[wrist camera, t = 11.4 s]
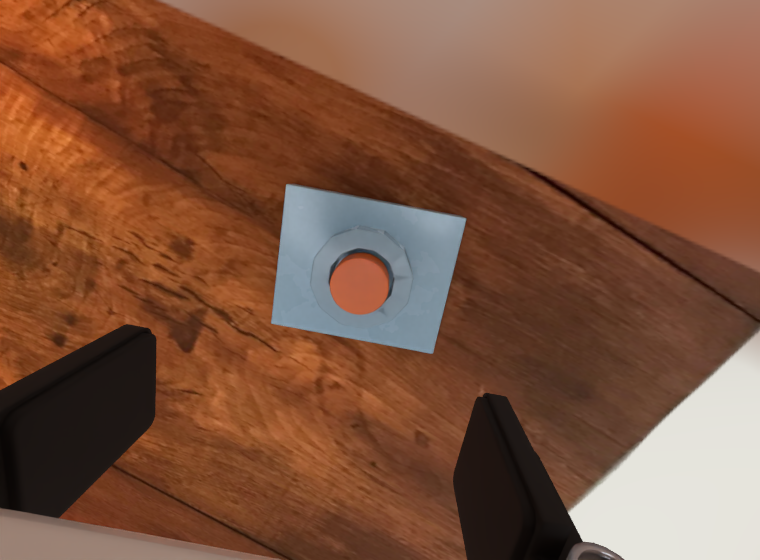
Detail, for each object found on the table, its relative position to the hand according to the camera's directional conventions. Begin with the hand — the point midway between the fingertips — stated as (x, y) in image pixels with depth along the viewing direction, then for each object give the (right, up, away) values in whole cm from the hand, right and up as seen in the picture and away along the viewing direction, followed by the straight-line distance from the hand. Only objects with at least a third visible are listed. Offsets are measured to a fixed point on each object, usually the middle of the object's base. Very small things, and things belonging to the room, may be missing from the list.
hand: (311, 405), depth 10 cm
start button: (+1, +4, +13) cm, 13 cm away
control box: (+1, +4, +16) cm, 17 cm away
